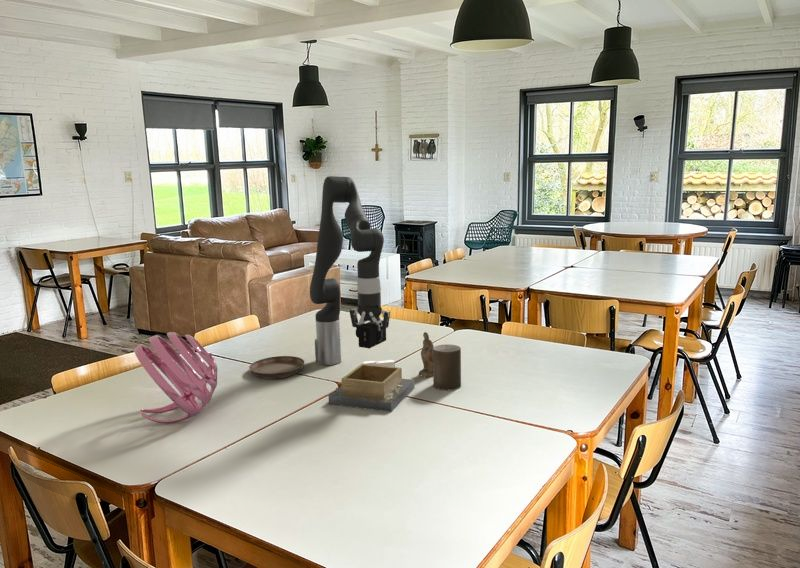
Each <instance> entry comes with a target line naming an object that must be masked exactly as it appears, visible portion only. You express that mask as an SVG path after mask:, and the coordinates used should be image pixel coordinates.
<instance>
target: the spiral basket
mask: <svg viewBox="0 0 800 568" xmlns="http://www.w3.org/2000/svg"><path fill="white" fill-rule="evenodd" d="M166 336H167V337H168V339H169V340H170V342H171V344H172V345H173V346H174V347H175V348H173V346H172V345H170V343H168V341H166V340H165V339H164V338H163V337H161V336H160V335H158V334H157V335H152V336H151V337H149V338H148V341H149V344H150V345H151V347H152V348H153V350H154V351H155V352H156V353H155V352H154V351H153V350H152V349H151V348H149V347H148V346H146V345H145V344H142V343H140V344H138V345H137V346H136V347H135V348H134V355H135V357H136V358H137V360H138V362H139V363H140V365H141V366H142V367H143V369H144V370H145V371H146V373H147V374H148V375H149V376H150V378H151V379H152V380H153V382H154V383H155V384H156V385H157V386H158V387H159V388H160V389H161V390H162V392H163V393H164V394H165V395H166V396H167V397H168V398H169V399H170V400H171V401H172V403H170V404H168V405H164V406H162V407H158V408H154V409H153V408H151V409H150V408H148V409H146V408H145V409H144V408H141V409H140V410H139V412H141V413H140V416H142V417H143V418H144V419H147V420H149V421H151V422H155V423H158V424H174V423H180V422H183V421H185V420H187V419H191V418H192V417H195V416H196V415H198V414H199V413H200V412H201V410H203V409H204V408H205V406H206V405H208V404H209V403H210V402H211V400H212V397H213V395H214V392H215V389H216V388H217V386H218V365H217V362H216V360H215V357H214V356H213V353H212V352H208V351H207V350H206V349H205V348H204V346H203V345H202V344H201V343H200V342H199V341H198V340H197V339H196V338H195V337H194V336H192V335H190V334H184V337H185V339H186V340H187V341H188V342H186V341H185V340H184V338H182V337H181V335H180V334H178V333H176V332H174V331H169V332H167V333H166ZM189 344H190V345H189ZM191 346H192V347H193V348H192V347H191ZM176 350H177V351H176ZM178 352H179V353H178ZM204 361H205V362H206V363H205V362H204ZM155 366H156V367H157V368H156V367H155ZM157 369H159V370H157ZM160 372H161V373H162V374H163V375H164V376H165V377H166V378H167V379H168V380H169V382H170V383H171V384H172V385H173V386H174V387H175V389H176V390H177V391H178V392H177V391H176V390H175V389H174V388H173V387H172V386H171V384H170V383H169V382H168V381H167V380H166V379H165V378H164V376H162V374H161V373H160ZM207 384H208V385H209V386H210V387H211V388H210V390H209V388H208V387H207ZM179 393H180V394H179ZM196 398H197V399H198V400H199V401H200V402H201V404H200V405H199V404H198V402H197V400H196ZM177 408H180V409H181V410H182V411H183V412H185V413H186V415H185V416H183V417H182V416H181V417H178V418H175V419H158V418H154V417H151V416H149V415H147V414H145V413H149V414H157V413H164V412H168V411H172V410H175V409H177Z"/></svg>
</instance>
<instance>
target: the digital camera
mask: <svg viewBox="0 0 800 568" xmlns="http://www.w3.org/2000/svg"><path fill="white" fill-rule="evenodd" d="M381 323H382V325H383V320H382V319H381ZM379 325H380V324H379ZM377 331H378V330H377V328H376V325H374V323H373V322H371V321H367V322H365V324H363V325H358V326H357V328H356V327H355V336H356V337H357V338H358V347H359V348H363V349H371V348H373V347H375V346H377V345H380V344H382V343H383V342H386V341H387V328H386V329H385V330H383V339H382V340H381V341H380V342H377Z"/></svg>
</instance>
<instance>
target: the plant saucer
mask: <svg viewBox="0 0 800 568" xmlns="http://www.w3.org/2000/svg"><path fill="white" fill-rule="evenodd" d="M304 364H305V360H304V359H303V358H302V357H298V356H293V355H280V356H279V355H277V356H270V357H266V358H265V357H264V358H261V359H258V360H256V361H254V362H252V363H250V365H249V367H248V369H249V370H250V372H251V373H253V375H255V376H256V377H259V378H262V379H267V378H269V380H270V379H274V378H276V379H282V378H283V377H284V378H288V377H291V376H294V375H296V374H297V373H299V372H300V371H301V369H303V366H304ZM274 380H275V379H274Z"/></svg>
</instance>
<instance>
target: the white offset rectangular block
mask: <svg viewBox="0 0 800 568" xmlns="http://www.w3.org/2000/svg"><path fill="white" fill-rule="evenodd" d="M395 362H396V361H395V360H394V359H386V360H368V361H367V360H365V361H362V364H367V365H377V366H387V367H396V364H395Z"/></svg>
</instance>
